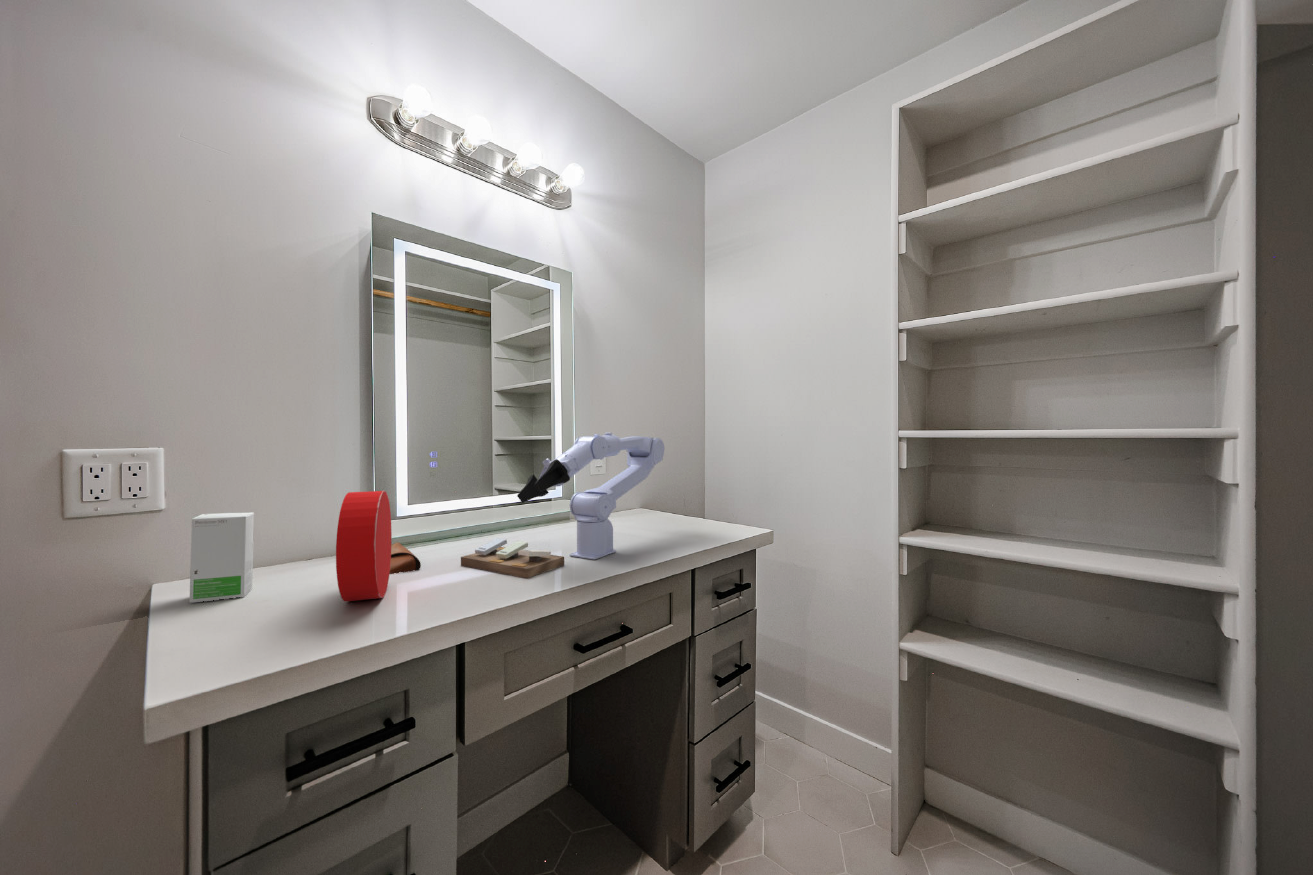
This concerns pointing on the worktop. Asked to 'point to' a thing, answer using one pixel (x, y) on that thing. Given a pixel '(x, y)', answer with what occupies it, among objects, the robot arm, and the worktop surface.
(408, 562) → the sunglasses case
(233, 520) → the skincare box
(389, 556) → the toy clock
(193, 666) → the worktop surface
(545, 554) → the cream rocker
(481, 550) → the bluegrey rocker
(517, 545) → the sage rocker
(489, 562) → the switch panel
